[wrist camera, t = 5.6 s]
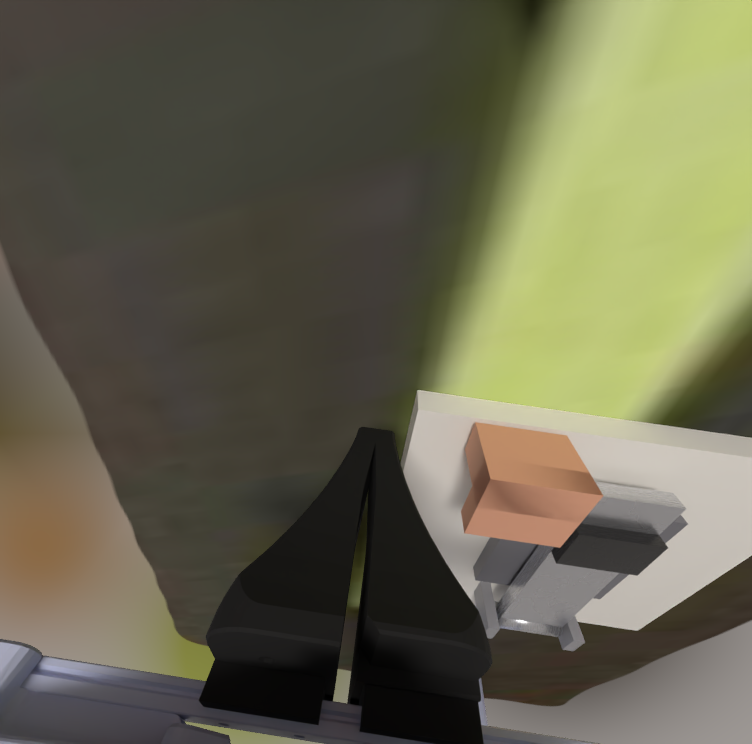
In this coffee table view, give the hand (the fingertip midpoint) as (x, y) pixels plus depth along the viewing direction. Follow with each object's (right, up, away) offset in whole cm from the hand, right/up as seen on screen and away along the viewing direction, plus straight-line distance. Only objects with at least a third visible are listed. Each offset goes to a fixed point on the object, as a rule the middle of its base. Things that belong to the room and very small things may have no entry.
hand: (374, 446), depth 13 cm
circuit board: (+11, -7, +7) cm, 15 cm away
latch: (+6, -1, +2) cm, 6 cm away
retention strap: (+11, -8, +5) cm, 14 cm away
